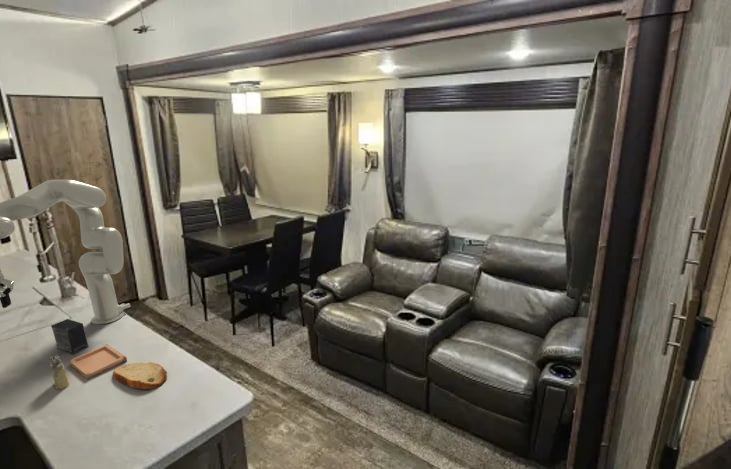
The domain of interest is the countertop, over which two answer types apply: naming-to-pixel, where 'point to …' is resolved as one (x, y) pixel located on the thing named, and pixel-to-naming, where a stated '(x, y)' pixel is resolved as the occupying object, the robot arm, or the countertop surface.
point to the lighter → (58, 373)
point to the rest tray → (97, 361)
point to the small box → (69, 336)
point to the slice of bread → (141, 375)
